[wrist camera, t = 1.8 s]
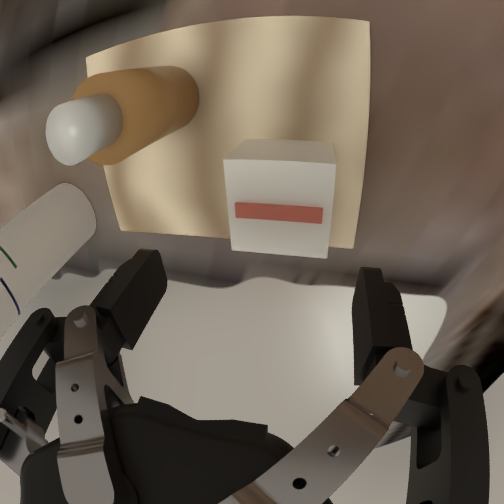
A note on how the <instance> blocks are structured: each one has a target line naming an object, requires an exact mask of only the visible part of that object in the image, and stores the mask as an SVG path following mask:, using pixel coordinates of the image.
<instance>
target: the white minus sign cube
mask: <svg viewBox="0 0 504 504" xmlns="http://www.w3.org/2000/svg"><path fill="white" fill-rule="evenodd" d="M223 164H224V175H225V186H226V196H227V206H228V217H229V226H230V236H231V246H232V250H235V251H247V252H258V253H269V254H280V255H292V256H303V257H314V258H325V259H327V254H328V246H329V237H330V229H331V219H332V210H333V199H334V188H335V175H336V160H335V154H334V149H333V143H331V142H318V141H302V140H278V139H244V140H243V141H242V142H241V143H240V144H239V145H238V146H236V147H235V148H234V149H233V150H232V151H231V152H230V153H229V154H228V155H227V156H226V157H225V158H224V159H223Z"/></svg>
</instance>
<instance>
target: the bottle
mask: <svg viewBox="0 0 504 504" xmlns="http://www.w3.org/2000/svg"><path fill="white" fill-rule="evenodd" d="M198 106H199V90H198V86H197V84H196V82H195V80H194V78H193V77H192V76H191V75H190V74H189V73H188V72H187V71H185V70H184V69H182V68H179V67H176V66H157V67H145V68H135V69H126V70H119V71H112V72H105V73H99V74H95V75H93V76H90V77H89V78H87V79H86V80H84V81H83V82H82V83H81V84H80V85H79V87H78V88H77V89H76V91H75V93H74V95H73V97H72V100H71V101H69V102H66V103H63V104H60V105H58V106H56V107H55V108H54V109H53V110H52V111H51V113H50V114H49V117H48V119H47V123H46V139H47V143H48V146H49V149H50V151H51V152H52V154H53V156H54V157H55V158H56V159H57V160H58V161H59V162H61V163H62V164H64V165H69V166H70V165H75V164H77V163H79V162H80V161H82V160H84V159H86V158H87V159H89V160H90V161H92V162H94V163H96V164H100V165H114V164H117V163H119V162H121V161H123V160H124V159H126V158H128V157H129V156H131V155H133V154H134V153H136V152H138V151H140V150H141V149H143V148H145V147H147V146H148V145H150V144H152V143H154V142H156V141H158V140H159V139H161V138H163V137H165V136H167V135H169V134H171V133H173V132H175V131H177V130H179V129H181V128H183V127H184V126H186V125H187V124H188V123H189V122H190V121H191V120H192V119H193V117H194V116H195V114H196V112H197V109H198Z"/></svg>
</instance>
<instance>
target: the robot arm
mask: <svg viewBox="0 0 504 504" xmlns="http://www.w3.org/2000/svg"><path fill="white" fill-rule="evenodd" d="M166 288H167V277H166V273H165V270H164V266H163V263H162V259H161V256H160V253H159V251H158V250H153V249H139V250H138V251H137V253H136V254H135V255H134V256H133V258H132V259H129V260H128V261H126V262H125V263H124V264H122V265H121V266H120V267H119V268H118V269H117V270H116V272H115V273H114V276H112V277H111V278H110V279H109V281H108V282H107V283H106V284H105V286H104V287H103V288H102V290H101V291H100V292H99V294H98V295H97V296H96V298H95V299H94V300H93V302H92V303H91V304H90V305H89V306H87V305H85V306H80V307H77V308H75V309H74V310H72V311H71V312H70V313H69V314H68V316H67V317H54V315H53V313H52V312H51V311H50V309H48V308H41V309H38V310H36V311H35V312H34V313H32V314H31V315H30V317H29V318H28V320H27V321H26V322H25V324H24V325H23V327H22V328H21V330H20V331H19V332H18V334H17V335H16V337H15V339H14V340H13V341H12V343H11V344H10V346H9V348H8V349H7V351H6V352H5V354H4V356H3V357H2V359H1V360H0V460H1V461H3V462H4V463H5V464H6V465H7V466H8V467H9V468H11V469H12V470H13V471H14V472H16V473H17V474H18V475H19V476H20V486H21V500H20V501H21V502H20V504H333V503H332V502H331V500H330V499H329V497H330V496H331V495H332V494H333V493H334V492H335V491H336V490H337V489H338V488H339V487H340V486H341V485H342V484H343V483H344V482H345V481H346V480H347V478H348V477H349V476H350V475H351V474H352V473H353V472H354V471H355V470H356V469H357V467H358V466H359V465H360V464H361V463H362V462H363V461H364V460H365V458H366V457H367V456H368V455H369V454H370V453H371V451H372V450H373V449H374V448H375V446H376V445H377V444H378V443H379V441H380V440H381V439H382V438H383V436H384V435H385V434H386V432H387V431H388V429H389V426H390V424H391V423H392V422H393V421H396V422H400V423H403V424H407V425H410V426H411V454H410V471H409V482H408V492H407V501H406V504H488V503H489V478H490V472H489V471H490V468H489V467H490V466H489V442H488V430H487V421H486V412H485V405H484V399H483V392H482V387H481V382H480V378H479V376H478V375H477V373H476V372H475V371H474V370H473V369H472V368H470V367H468V366H465V365H457V366H454V367H453V368H452V369H450V371H449V372H448V373H447V372H444V371H440V370H437V369H434V368H430V367H428V366H426V365H424V364H423V361H422V359H421V358H420V356H419V355H418V354H417V353H416V352H414V351H413V349H412V345H411V339H410V334H409V329H408V325H407V320H406V316H405V311H404V307H403V306H402V305H403V303H402V299H401V295H400V292H399V291H398V290H397V288H396V287H395V286H394V284H393V283H387V282H384V280H383V275H382V271H381V269H380V268H370V267H361V268H360V271H359V275H358V280H357V284H356V288H355V292H354V296H353V303H352V323H353V344H354V385H360V386H359V387H358V388H357V390H356V391H355V392H354V393H353V394H352V396H350V397H349V398H348V399H345V400H344V401H343V402H341V403H340V404H339V405H338V406H337V407H336V409H335V410H334V411H333V412H332V413H331V414H330V415H329V416H328V417H327V418H326V419H325V420H324V421H323V422H322V423H321V424H320V425H319V426H318V427H317V428H316V429H315V430H314V431H312V432H311V433H310V434H309V435H308V436H307V437H306V438H305V439H304V440H303V441H302V442H301V443H300V444H299V445H297V446H296V447H295V448H293V447H292V446H291V445H290V444H288V443H287V442H286V441H284V440H283V439H281V438H279V437H277V436H275V435H273V434H270V433H268V425H263V424H256V423H250V422H244V421H238V420H196V419H193V418H192V417H190V416H188V415H186V414H184V413H182V412H181V411H179V410H177V409H175V408H173V407H172V406H170V405H168V404H165V403H162V402H158V401H154V400H152V399H149V398H145V397H142V396H141V397H140V399H139V401H138V403H134V402H133V400H132V398H131V396H130V393H129V390H128V386H127V381H126V377H125V372H124V367H123V362H122V357H121V354H120V350H121V348H126V349H129V350H133V348H134V346H135V345H136V343H137V341H138V339H139V337H140V335H141V334H142V332H143V330H144V328H145V327H146V324H147V323H148V321H149V320H150V318H151V316H152V314H153V313H154V311H155V309H156V307H157V306H158V304H159V302H160V300H161V299H162V297H163V295H164V294H165V292H166ZM43 350H44V351H45V353H46V354H47V355H48V356H49V360H48V361H47V363H46V365H45V366H44V368H43V370H42V372H41V374H40V375H39V377H38V379H37V381H36V380H35V379H34V378H33V375H32V368H33V366H34V365H35V363H36V361H37V359H38V358H39V356H40V355H41V353H42V351H43ZM56 409H57V416H58V426H59V435H60V437H59V438H58V439H56V440H54V441H52V442H50V443H49V442H48V441H47V440H46V439H45V433H46V431H47V429H48V426H49V424H50V422H51V420H52V417H53V415H54V413H55V411H56Z"/></svg>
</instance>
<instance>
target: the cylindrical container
mask: <svg viewBox="0 0 504 504" xmlns="http://www.w3.org/2000/svg"><path fill="white" fill-rule="evenodd" d="M95 230H96V217H95V213H94V210H93V207H92V205H91V203H90V201H89V200H88V198H87V197H86V196H85V194H84V193H83V192H82V191H81V190H80V189H78V188H77V187H76V186H74V185H72V184H69V183H61V184H59V185H57V186H56V187H54V188H53V189H51V190H50V191H49V192H47V193H46V194H44V195H43V196H41V197H40V198H39V199H37V200H36V201H34V202H33V203H32V204H30V205H29V206H28V207H26V208H25V209H24V210H22V211H21V212H20V213H19V214H17V215H16V216H15V217H14V218H12V219H11V220H10V221H9V222H7V223H6V224H5V225H4V226H3V227H1V228H0V340H1V338H2V337H3V336H4V334H5V333H6V332H7V330H8V329H9V328H10V326H11V325H12V324H13V323H14V321H15V320H16V319H17V318H18V315H20V314H21V312H22V311H23V310H24V309H25V308H26V307H27V305H28V304H29V303H30V302H31V300H32V299H33V298H34V297H35V296H36V295H37V293H38V292H39V291H40V290H41V289H42V288H43V287H44V285H45V284H46V283H47V282H48V281H49V280H50V279H51V278H52V277H53V276H54V274H55V273H56V272H57V271H58V270H59V269H60V268H61V267H62V266H63V265H64V264H65V263H66V262H67V261H68V260H69V259H70V258H71V257H72V256H73V255H74V254H75V253H76V252H77V251H78V250H79V249H80V248H81V247H82V246H83V245H84V244H85V243H86V242H87V241H88V240H89V239H90V238H91V237H92V236H93V234H94V233H95Z"/></svg>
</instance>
